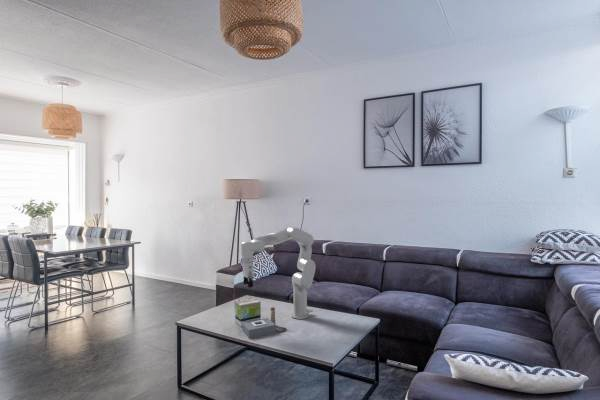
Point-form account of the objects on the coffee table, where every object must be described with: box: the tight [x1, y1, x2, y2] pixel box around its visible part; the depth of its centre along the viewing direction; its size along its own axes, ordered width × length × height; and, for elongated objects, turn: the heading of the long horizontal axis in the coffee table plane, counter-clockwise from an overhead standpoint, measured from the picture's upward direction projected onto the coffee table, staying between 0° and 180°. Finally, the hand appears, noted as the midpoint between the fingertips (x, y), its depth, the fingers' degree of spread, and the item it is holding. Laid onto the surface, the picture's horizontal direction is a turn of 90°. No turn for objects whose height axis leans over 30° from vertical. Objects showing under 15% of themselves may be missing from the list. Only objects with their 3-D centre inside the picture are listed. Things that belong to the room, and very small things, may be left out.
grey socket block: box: [241, 318, 277, 339], centre depth 231 cm, size 18×14×6 cm
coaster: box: [276, 326, 287, 334], centre depth 232 cm, size 8×8×1 cm
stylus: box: [270, 306, 276, 325], centre depth 241 cm, size 3×3×12 cm
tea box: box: [234, 298, 262, 328], centre depth 247 cm, size 15×10×15 cm, turn 123°
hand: (248, 285), depth 238 cm, fingers open, 9 cm apart
